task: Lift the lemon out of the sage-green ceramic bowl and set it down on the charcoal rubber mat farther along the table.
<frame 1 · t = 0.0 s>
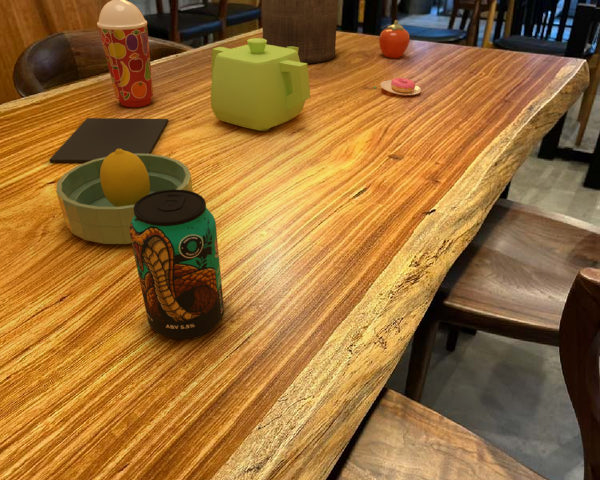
donut: (393, 92, 109), on the table
lemon: (131, 213, 66), resting on bowl
teapot: (266, 117, 96), on the table
beverage can: (187, 321, 51), on the table
smoothie: (136, 104, 101), on the table
tomato: (392, 57, 132), on the table
mat: (114, 140, 86), on the table
planter: (299, 56, 132), on the table
bowl: (132, 216, 66), on the table
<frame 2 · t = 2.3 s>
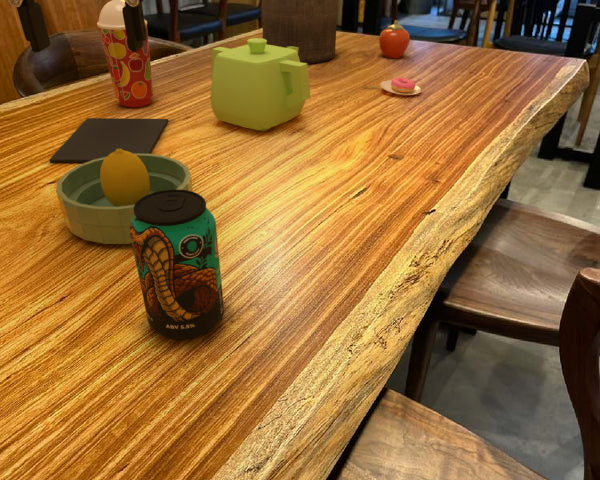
hand: (89, 49, 54), 19 cm above the table, tool pointing down, fingers open, 9 cm apart
nothing on the table moved.
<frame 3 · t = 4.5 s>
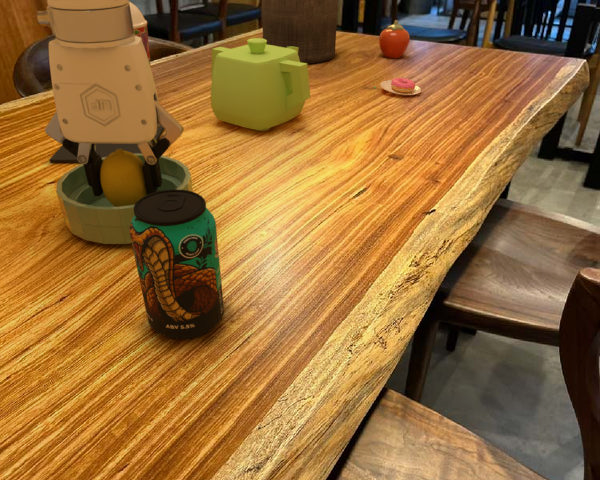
hand: (127, 190, 64), 4 cm above the table, tool pointing down, fingers closed on lemon, 5 cm apart
lemon: (131, 213, 66), resting on bowl, touching gripper
everything else where it was.
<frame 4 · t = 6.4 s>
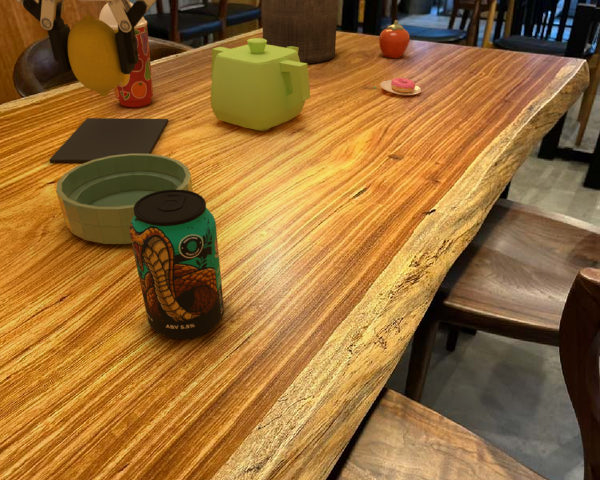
hand: (98, 68, 56), 17 cm above the table, tool pointing down, fingers closed on lemon, 5 cm apart
lemon: (104, 98, 58), point 14 cm above the table, touching gripper
everything else where it was.
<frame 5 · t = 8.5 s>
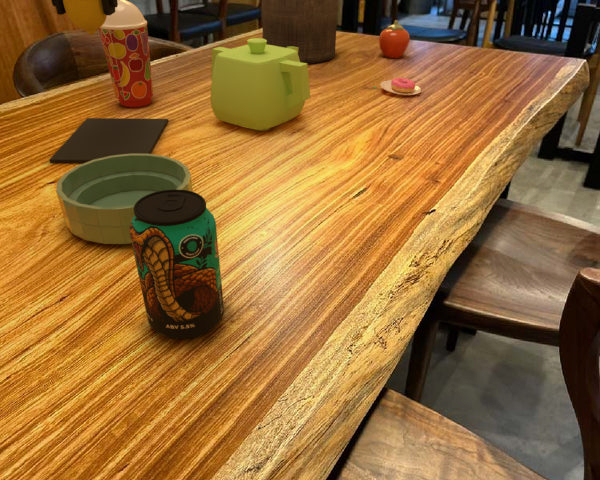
hand: (86, 11, 73), 19 cm above the table, tool pointing down, fingers closed on lemon, 5 cm apart
lemon: (92, 36, 75), point 16 cm above the table, touching gripper
everything else where it was.
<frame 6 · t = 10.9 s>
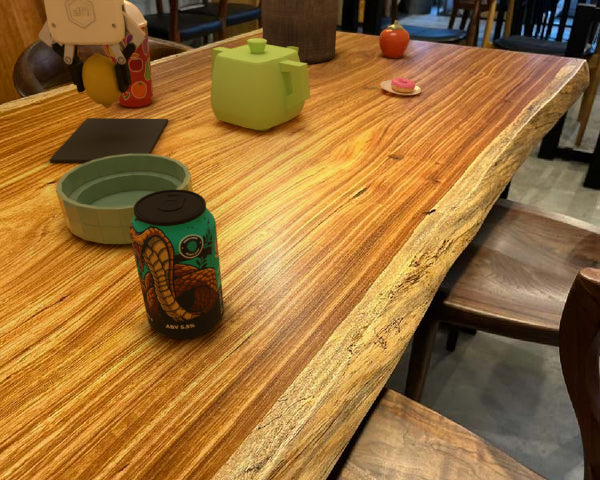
hand: (104, 88, 81), 8 cm above the table, tool pointing down, fingers closed on lemon, 5 cm apart
lemon: (108, 109, 83), point 5 cm above the table, touching gripper
everything else where it was.
when the fingers open (3 cm above the table, at t = 12.5 s): lemon stays where it is, resting on mat.
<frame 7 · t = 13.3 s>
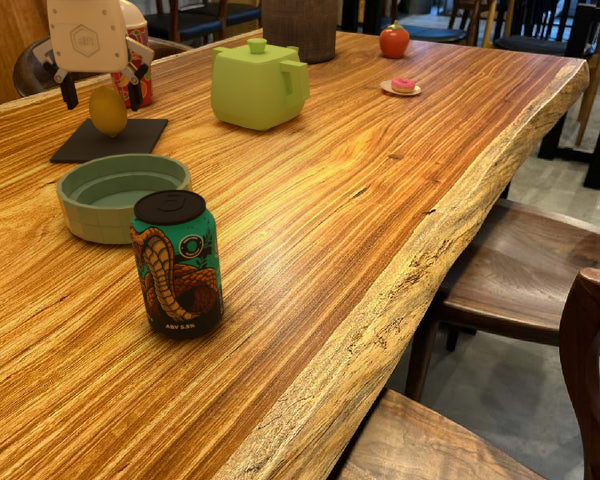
hand: (105, 108, 83), 5 cm above the table, tool pointing down, fingers open, 9 cm apart
lemon: (113, 138, 86), resting on mat
everything else where it was.
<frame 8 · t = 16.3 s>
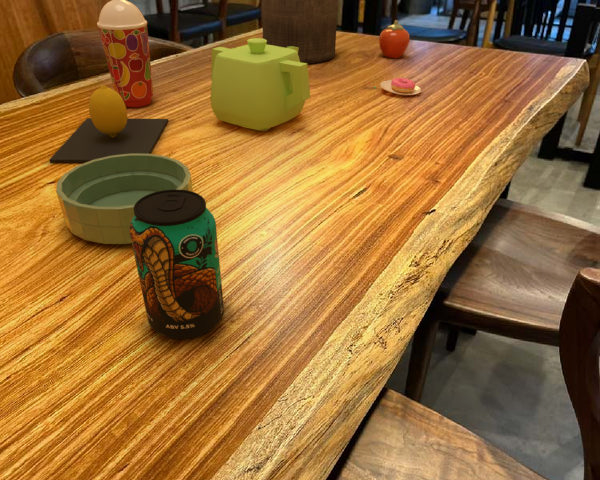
nothing on the table moved.
at the end: lemon inside the target area on the mat (0.0 cm from its centre), point 0.3 cm above the mat's base; lemon touching mat; the gripper is holding nothing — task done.
